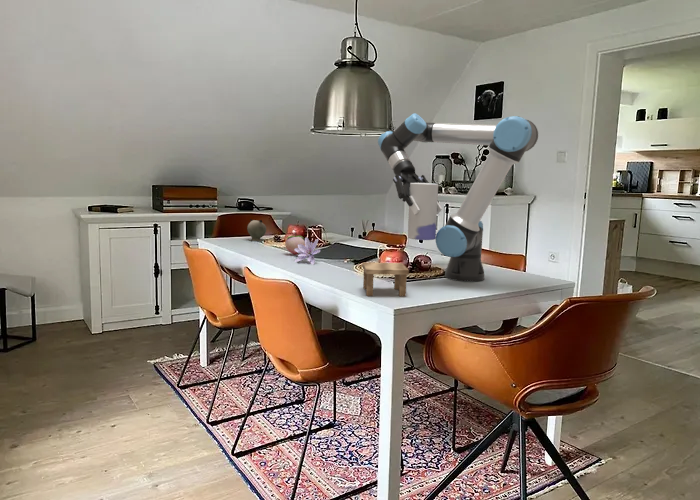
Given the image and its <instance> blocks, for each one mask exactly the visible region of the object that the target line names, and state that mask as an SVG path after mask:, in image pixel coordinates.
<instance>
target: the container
mask: <svg viewBox="0 0 700 500" xmlns="http://www.w3.org/2000/svg"><path fill="white" fill-rule="evenodd" d="M410 196H412V197H413V199H414V200H415V202H416V204H417V205H418V207H419V209H420V210H419V212H418V213H417V214H416V215H414V213H413V211H412V210H411V208H410V206H408V224H407V239H409V240H415V241H416V240H417V241H418V240H419V241H432V240H436V235H437V216H438V214H437V200H438V196H439V184H438V183H434V182H433V183H431V182H429V183H419V182H418V183H410ZM410 196H409V197H410Z"/></svg>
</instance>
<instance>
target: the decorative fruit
mask: <svg viewBox="0 0 700 500" xmlns="http://www.w3.org/2000/svg"><path fill="white" fill-rule="evenodd" d="M298 244H302V245H304V246H305V238H304V237H303V236H302V235H297V234H296V233H295V234H294V235H289V236H287V237H286V238H285V243H284V246H285V248H286V250H287V251H288V252H289V253H291V254H293V255H294V256H295V255H299V253H298V252H296V251H295V250H294V249H295V248H298ZM305 247H306V246H305Z"/></svg>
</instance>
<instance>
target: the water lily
mask: <svg viewBox="0 0 700 500" xmlns="http://www.w3.org/2000/svg"><path fill="white" fill-rule="evenodd" d="M304 242H305V246H304V245H302V244H298V248H295V249H294V250H295V251H296V252H298V254H297V258H296V259H294V261H293V263H297V262H301V261H303V260H305V259H306V258H307V261H308V262H309V263H310V264H311V265H313V266H314V265H315V263H316V261H315V256H314V255H316V254H317V255H318V254H319V253H320V252H321V249H316V247H317V245H318V244H319V238H317V239H315V240H314V242H313V241H310V240H309V238H308V237H305V238H304Z"/></svg>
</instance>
